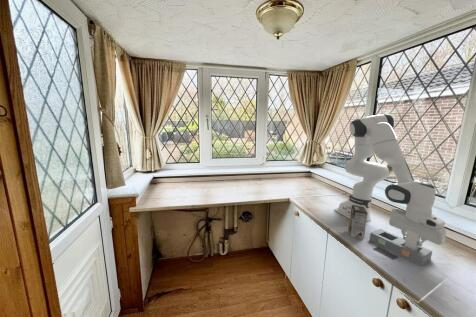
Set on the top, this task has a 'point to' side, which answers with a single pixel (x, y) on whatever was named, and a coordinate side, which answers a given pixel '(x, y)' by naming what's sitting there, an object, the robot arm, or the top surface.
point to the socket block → (400, 246)
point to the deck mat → (385, 253)
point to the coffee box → (357, 222)
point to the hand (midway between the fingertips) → (412, 242)
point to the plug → (412, 241)
